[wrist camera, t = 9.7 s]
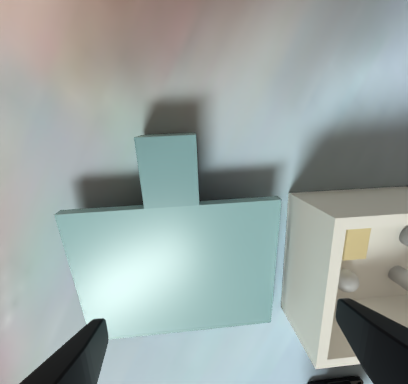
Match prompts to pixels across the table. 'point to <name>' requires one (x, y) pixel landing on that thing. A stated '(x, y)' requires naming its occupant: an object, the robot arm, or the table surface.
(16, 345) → the table surface
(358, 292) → the tub
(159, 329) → the lid
